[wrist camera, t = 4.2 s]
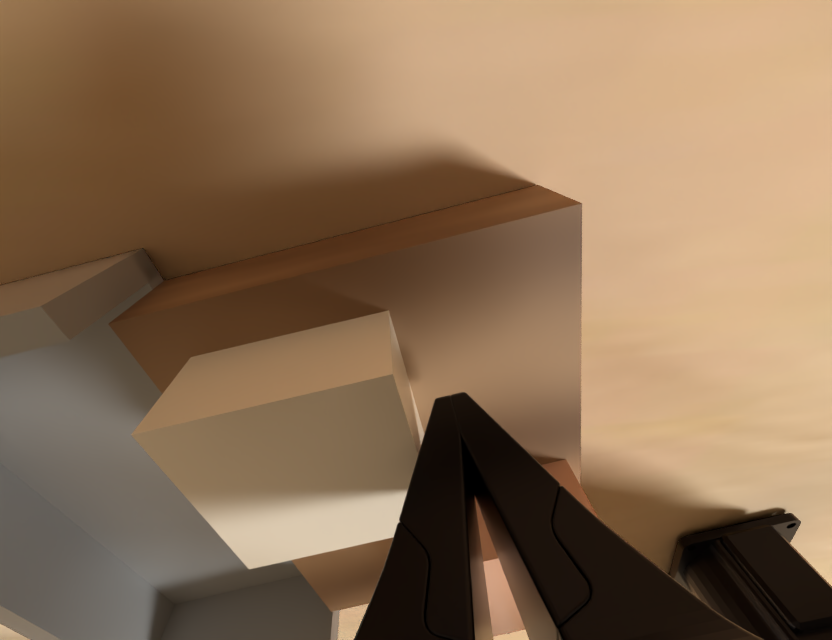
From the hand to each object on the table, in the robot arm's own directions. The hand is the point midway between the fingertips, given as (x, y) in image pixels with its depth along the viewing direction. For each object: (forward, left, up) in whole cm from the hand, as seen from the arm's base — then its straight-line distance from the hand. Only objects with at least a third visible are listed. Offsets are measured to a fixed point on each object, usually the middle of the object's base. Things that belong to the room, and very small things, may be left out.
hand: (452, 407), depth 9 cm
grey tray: (-4, +12, -4) cm, 13 cm away
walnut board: (-4, +2, -4) cm, 5 cm away
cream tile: (0, +4, -1) cm, 4 cm away
